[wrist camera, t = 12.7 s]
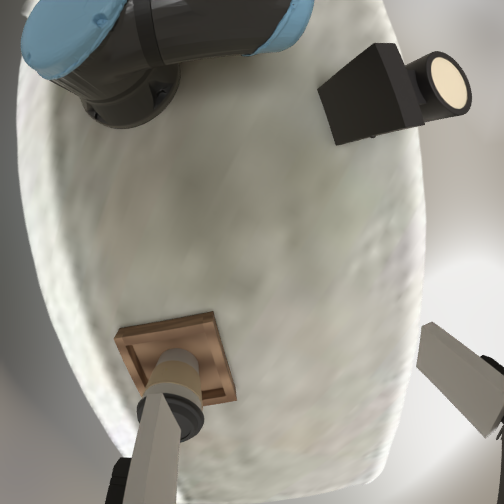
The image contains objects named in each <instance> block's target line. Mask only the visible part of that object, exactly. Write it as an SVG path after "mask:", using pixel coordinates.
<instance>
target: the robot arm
mask: <svg viewBox="0 0 504 504" xmlns="http://www.w3.org/2000/svg"><path fill="white" fill-rule="evenodd" d="M313 6H314V0H40V1H39V2H38V3H37V4H36V6H35V7H34V9H33V10H32V12H31V14H30V15H29V17H28V19H27V21H26V24H25V26H24V29H23V33H22V38H21V52H22V56H23V58H24V60H25V62H26V63H27V64H28V65H29V66H30V67H31V68H33V69H34V70H35V71H37V72H38V74H39V75H40V76H42V78H44V79H47V80H50V81H51V82H53V83H55V84H57V85H59V86H61V87H63V88H65V89H67V90H68V91H70V92H72V93H74V94H76V95H78V96H79V97H80V99H81V102H82V104H83V107H84V109H85V110H86V112H87V113H88V114H89V115H90V116H91V117H92V118H93V119H94V120H96V121H97V122H99V123H101V124H103V125H105V126H108V127H111V128H117V129H126V128H132V127H136V126H139V125H142V124H144V123H146V122H148V121H150V120H151V119H153V118H154V117H156V116H157V115H158V114H160V113H161V112H162V111H163V110H164V109H165V108H166V107H167V105H168V104H169V103H170V102H171V100H172V98H173V97H174V95H175V93H176V91H177V88H178V85H179V80H180V68H179V64H178V63H181V62H186V61H193V60H199V59H206V58H213V57H222V56H232V55H242V56H252V55H256V54H259V53H271V52H280V51H283V50H285V49H288V48H289V47H291V46H293V45H294V44H295V43H296V42H297V41H298V40H299V38H300V37H301V36H302V34H303V32H304V31H305V29H306V27H307V24H308V22H309V19H310V17H311V13H312V10H313ZM416 367H417V368H418V369H419V370H420V371H421V372H422V373H423V374H424V375H425V376H426V377H427V378H428V379H429V380H430V381H431V382H432V383H433V384H434V385H435V386H436V387H437V388H438V389H439V390H440V391H441V392H442V393H443V394H444V395H445V396H446V397H447V399H449V401H450V402H451V403H452V404H453V405H454V406H455V407H456V408H457V409H458V410H459V411H460V412H461V413H462V414H463V415H464V416H465V417H466V418H467V419H468V420H469V422H471V424H472V425H473V426H474V427H475V428H476V429H477V430H478V431H479V432H480V433H481V434H482V435H483V437H484V438H487V437H488V436H489V435H491V434H492V433H493V432H494V431H495V430H496V429H497V427H498V425H499V424H500V422H502V423H503V424H504V367H503V366H502V365H499V363H498V362H496V361H495V360H494V359H492V358H490V357H487V356H485V355H482V356H481V357H479V356H478V355H476V354H475V353H474V352H473V351H471V350H470V349H469V348H467V347H466V346H464V345H463V344H462V343H461V342H459V341H458V340H457V339H455V338H454V337H453V336H451V335H450V334H449V333H447V332H446V331H445V330H443V329H442V328H440V327H439V326H438V325H436V324H435V323H433V322H430V323H428V324H426V325H423V326H422V328H421V338H420V345H419V352H418V359H417V365H416ZM501 434H502V437H501V440H502V460H501V461H502V462H501V475H500V486H499V494H498V501H497V504H504V425H503V426H502V428H501V430H500V432H499V434H498V435H497V438H496V440H498V439H499V437H500V436H501ZM180 436H181V429H180V427H179V425H178V423H177V421H176V419H175V417H174V416H173V414H172V412H171V410H170V408H169V406H168V404H167V402H166V400H165V398H164V395H163V393H155V394H147V397H146V401H145V405H144V409H143V413H142V417H141V421H140V425H139V429H138V433H137V437H136V442H135V446H134V450H133V455H132V458H120V459H119V460H118V461H117V463H116V464H115V465H114V468H113V472H112V478H111V480H110V485H109V488H108V492H107V497H106V501H105V504H176V493H177V476H178V461H179V448H180Z"/></svg>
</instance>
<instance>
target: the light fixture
mask: <svg viewBox="0 0 504 504" xmlns="http://www.w3.org/2000/svg"><path fill="white" fill-rule="evenodd" d="M317 90H318V93H319V96H320V99H321V101H322V104H323V107H324V110H325V113H326V116H327V119H328V122H329V125H330V128H331V131H332V134H333V138H334V141H335V144H336V146H337V145H341V144H345V143H350V142H354V141H357V140H361V139H365V138H369V137H370V138H375V137H376V136H377V135H381V134H386V133H390V132H394V131H399V130H403V129H408V128H412V127H417V126H421V125H425V123H424V122H429V121H434V120H438V119H444V118H448V117H454V116H460V115H464V114H466V113H467V112H468V111H469V109H470V107H471V102H472V93H471V88H470V84H469V82H468V79H467V77H466V75H465V73H464V71H463V70H462V68H461V67H460V66H459V64H458V63H457V62H456V61H455V60H454V59H453V58H451V57H450V56H449V55H447V54H445V53H443V52H439V51H435V52H432V53H430V54H427V55H425V56H423V57H422V58H420V59H417V60H415V61H413V62H411V63H409V64H407V65H404V63H403V60H402V58H401V55H400V53H399V51H398V49H397V46H396V44H395V43H373V44H372V45H371V46H370V47H368V48H367V49H366V50H364V51H363V52H362V53H361V54H359V55H358V56H357V57H356V58H354V59H353V60H352V61H351V62H349V63H348V64H347V65H346V66H344V67H343V68H342V69H341V70H340V71H338V72H337V73H336V74H335V75H334V76H332V77H331V78H330V79H329V80H328V81H327V82H325V83H324V84H323V85H322V86H321V87H320V88H318V89H317Z"/></svg>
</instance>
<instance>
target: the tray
mask: <svg viewBox="0 0 504 504" xmlns="http://www.w3.org/2000/svg"><path fill="white" fill-rule="evenodd" d="M114 341H115V343H116V345H117V348H118V350H119V352H120V354H121V356H122V359H123V361H124V363H125V365H126V367H127V369H128V371H129V373H130V375H131V377H132V379H133V381H134V383H135V385H136V387H137V389H138V391H139V393H140V395H141V397H142V394H143V392H144V390H145V388H146V385H147V383H148V381H149V379H150V376H151V374H152V372H153V370H154V368H155V367H156V365H157V362H158V360H159V358H160V356H161V354H162V353H163V352H165V351H166V350H169V349H173V348H180V349H184V350H187V351H189V352H190V353H192V354H193V355H194V356H195V357H196V359H197V361H198V366H199V377H200V382H201V393H202V403H203V406H207V405H214V404H220V403H226V402H231V401H237V397H236V389H235V385H234V382H233V379H232V375H231V372H230V369H229V366H228V362H227V359H226V356H225V352H224V349H223V345H222V342H221V338H220V335H219V331H218V328H217V324H216V321H215V317H214V313H213V311H212V312H207V313H202V314H197V315H192V316H187V317H181V318H176V319H171V320H165V321H160V322H154V323H148V324H143V325H137V326H131V327H125V328H120V329H119V331H118V332H117V334H116V336H115V337H114Z"/></svg>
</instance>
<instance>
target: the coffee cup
mask: <svg viewBox="0 0 504 504" xmlns="http://www.w3.org/2000/svg"><path fill="white" fill-rule="evenodd" d="M155 393H163V395H164V398H165V400H166V402H167V404H168V406H169V408H170V410H171V412H172V414H173V416H174V417H175V419H176V421H177V423H178V425H179V427H180V429H181V436H180V443H181V442H184V441H187V440H188V439H190V438H192V437H194V436H195V435H197V434H198V433H199V431H200V430H201V428H202V426H203V424H204V415H203V413H202V410H203V403H202V393H201V382H200V377H199V366H198V361H197V359H196V357H195V356H194V355H193V354H192V353H190V352H189V351H187V350H184V349H180V348H173V349H169V350H166V351H165V352H163V353H162V354H161V356H160V358H159V360H158V362H157V365H156V367H155V368H154V370H153V372H152V374H151V376H150V379H149V381H148V383H147V385H146V388H145V390H144V392H143V394H142V399H141V400H140V402H139V403H138V405H137V418H138V421H139V423H140V421H141V417H142V413H143V409H144V405H145V401H146V397H147V394H155Z"/></svg>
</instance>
